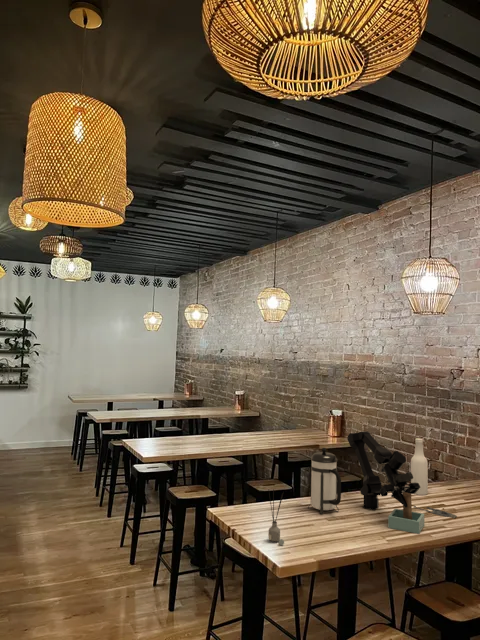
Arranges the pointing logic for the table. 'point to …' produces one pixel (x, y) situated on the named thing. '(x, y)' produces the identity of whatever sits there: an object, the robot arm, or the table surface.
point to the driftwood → (439, 512)
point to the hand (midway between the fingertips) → (408, 506)
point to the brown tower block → (407, 510)
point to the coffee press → (325, 481)
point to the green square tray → (406, 521)
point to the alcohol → (420, 468)
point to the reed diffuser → (275, 525)
